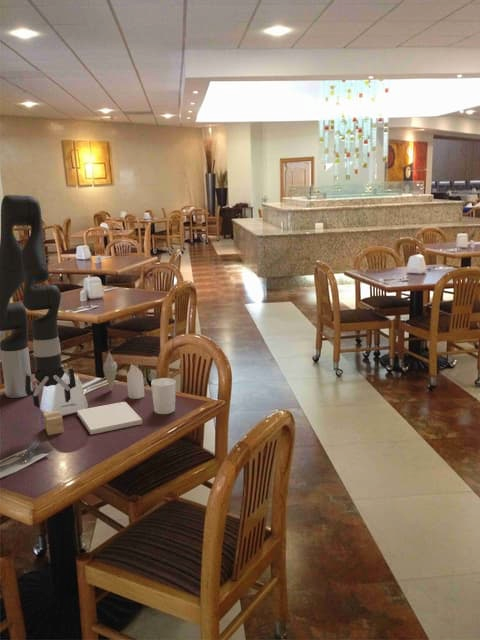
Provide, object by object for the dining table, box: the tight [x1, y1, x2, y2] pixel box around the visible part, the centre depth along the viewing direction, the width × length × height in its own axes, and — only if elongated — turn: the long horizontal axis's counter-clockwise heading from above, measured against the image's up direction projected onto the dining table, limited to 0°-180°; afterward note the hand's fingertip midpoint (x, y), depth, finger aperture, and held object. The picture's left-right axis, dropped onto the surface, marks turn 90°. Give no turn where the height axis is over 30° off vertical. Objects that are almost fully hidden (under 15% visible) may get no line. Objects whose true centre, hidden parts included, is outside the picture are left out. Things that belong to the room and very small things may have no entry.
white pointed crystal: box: [126, 363, 145, 400], centre depth 200 cm, size 6×12×6 cm
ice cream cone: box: [102, 351, 118, 392], centre depth 206 cm, size 5×5×15 cm
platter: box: [76, 401, 143, 435], centre depth 181 cm, size 18×16×2 cm
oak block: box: [43, 410, 65, 436], centre depth 173 cm, size 6×4×5 cm
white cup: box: [150, 377, 176, 415], centre depth 187 cm, size 8×8×10 cm
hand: (52, 404), depth 172 cm, fingers open, 8 cm apart
